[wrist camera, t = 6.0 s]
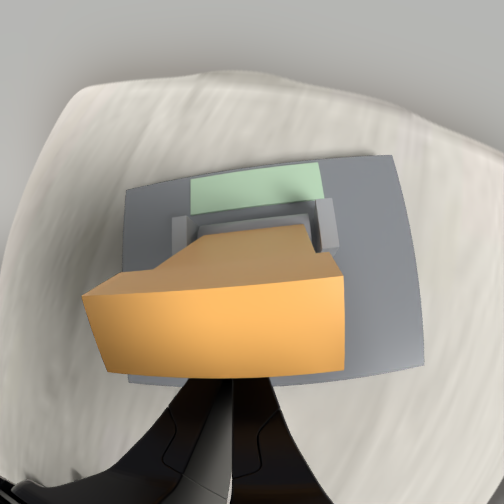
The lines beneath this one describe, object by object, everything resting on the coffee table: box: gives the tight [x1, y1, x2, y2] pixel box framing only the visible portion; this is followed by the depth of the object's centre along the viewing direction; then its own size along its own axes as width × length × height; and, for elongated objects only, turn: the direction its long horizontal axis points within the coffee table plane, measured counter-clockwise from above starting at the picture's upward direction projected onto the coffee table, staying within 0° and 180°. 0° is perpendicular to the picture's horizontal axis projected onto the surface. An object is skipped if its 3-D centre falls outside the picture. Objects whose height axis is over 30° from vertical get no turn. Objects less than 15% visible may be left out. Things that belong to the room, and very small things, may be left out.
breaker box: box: [122, 155, 424, 387], centre depth 16 cm, size 13×18×4 cm
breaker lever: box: [81, 213, 345, 378], centre depth 11 cm, size 2×6×11 cm, turn 94°
